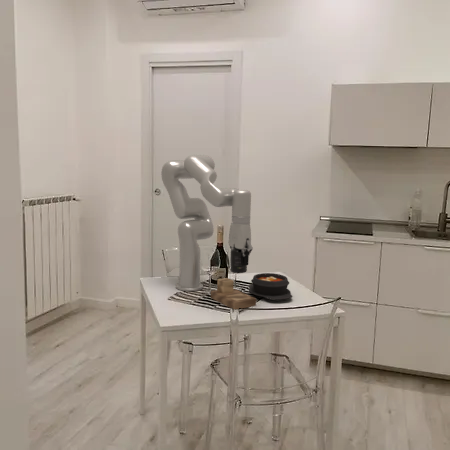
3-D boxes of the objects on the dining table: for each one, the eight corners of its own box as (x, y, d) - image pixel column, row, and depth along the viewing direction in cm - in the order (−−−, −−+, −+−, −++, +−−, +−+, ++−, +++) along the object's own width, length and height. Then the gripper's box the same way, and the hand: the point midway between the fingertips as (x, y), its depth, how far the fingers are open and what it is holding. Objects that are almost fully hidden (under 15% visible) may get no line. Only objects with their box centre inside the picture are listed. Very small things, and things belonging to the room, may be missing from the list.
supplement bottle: (229, 269, 196) (229, 241, 195) (245, 269, 197) (246, 241, 195) (231, 273, 189) (231, 244, 188) (247, 273, 190) (248, 244, 188)
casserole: (302, 301, 202) (303, 282, 200) (263, 305, 195) (264, 286, 193) (274, 286, 224) (275, 269, 223) (239, 289, 217) (239, 271, 216)
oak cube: (217, 290, 204) (217, 279, 203) (226, 288, 206) (227, 277, 206) (223, 293, 200) (223, 282, 199) (233, 291, 202) (233, 280, 202)
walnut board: (210, 297, 203) (210, 290, 203) (231, 294, 209) (231, 287, 209) (234, 309, 188) (234, 302, 188) (255, 305, 194) (256, 298, 194)
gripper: (221, 218, 195) (220, 260, 198) (245, 223, 181) (244, 269, 183) (236, 217, 199) (235, 258, 202) (261, 222, 185) (259, 266, 188)
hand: (239, 263), depth 193 cm, fingers closed on supplement bottle, 6 cm apart
